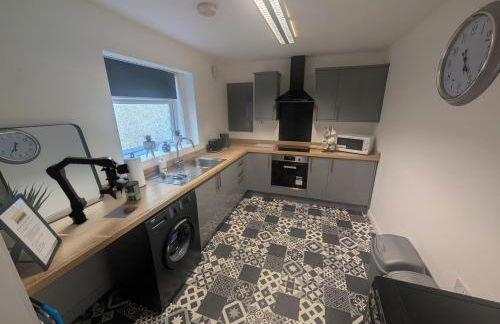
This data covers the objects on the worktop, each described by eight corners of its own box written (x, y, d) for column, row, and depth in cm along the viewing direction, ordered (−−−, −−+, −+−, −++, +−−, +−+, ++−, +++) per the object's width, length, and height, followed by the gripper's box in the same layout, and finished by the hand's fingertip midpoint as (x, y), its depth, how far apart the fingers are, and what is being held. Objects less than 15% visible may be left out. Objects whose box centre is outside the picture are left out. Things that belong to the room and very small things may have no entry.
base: (121, 212, 130) (120, 209, 129) (128, 207, 137) (128, 203, 136) (131, 212, 129) (130, 209, 129) (137, 207, 136) (137, 204, 135)
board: (102, 218, 125) (102, 217, 125) (118, 207, 138) (118, 206, 138) (125, 218, 123) (125, 217, 123) (139, 207, 137) (138, 206, 136)
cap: (113, 199, 126) (110, 191, 124) (118, 196, 130) (115, 188, 128) (119, 199, 125) (116, 191, 123) (123, 196, 129) (121, 188, 127)
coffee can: (129, 204, 142) (125, 186, 138) (125, 199, 149) (121, 183, 145) (144, 199, 149) (140, 182, 145) (139, 195, 156) (136, 179, 152)
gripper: (112, 181, 113) (119, 204, 118) (133, 170, 131) (138, 191, 135) (95, 181, 114) (102, 204, 119) (118, 171, 132) (124, 191, 136)
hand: (118, 197), depth 127 cm, fingers closed on cap, 4 cm apart
